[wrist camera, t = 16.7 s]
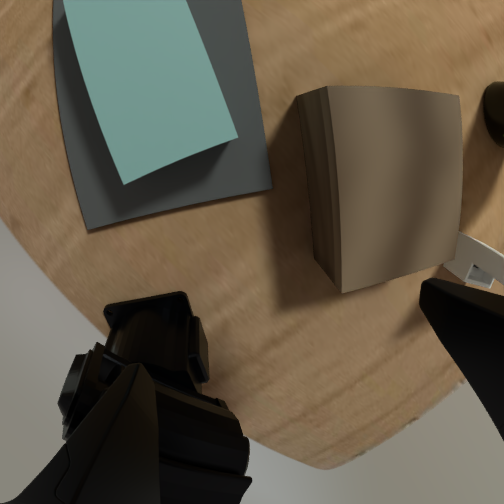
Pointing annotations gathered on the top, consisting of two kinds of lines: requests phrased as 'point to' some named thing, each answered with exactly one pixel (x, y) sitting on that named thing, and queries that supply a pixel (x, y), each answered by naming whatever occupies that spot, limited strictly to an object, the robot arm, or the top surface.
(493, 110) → the supplement bottle
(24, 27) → the top surface
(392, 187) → the sleeve box
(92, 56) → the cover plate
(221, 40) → the rubber mat
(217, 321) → the top surface
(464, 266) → the white wedge bracket
